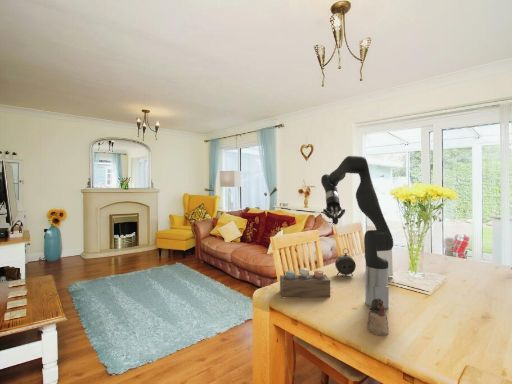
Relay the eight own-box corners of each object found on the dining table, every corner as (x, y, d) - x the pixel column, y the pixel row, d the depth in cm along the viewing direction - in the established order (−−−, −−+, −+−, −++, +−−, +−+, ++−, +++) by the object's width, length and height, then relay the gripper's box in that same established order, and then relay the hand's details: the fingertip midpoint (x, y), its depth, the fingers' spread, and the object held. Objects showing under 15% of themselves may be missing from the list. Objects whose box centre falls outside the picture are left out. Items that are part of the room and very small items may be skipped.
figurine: (382, 325, 103) (382, 294, 103) (392, 335, 96) (392, 302, 96) (364, 325, 103) (364, 294, 102) (372, 336, 96) (372, 302, 95)
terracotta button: (324, 278, 130) (324, 273, 130) (315, 278, 130) (315, 273, 130) (321, 275, 135) (321, 270, 135) (313, 275, 135) (313, 270, 135)
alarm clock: (353, 274, 160) (354, 247, 159) (356, 277, 155) (356, 249, 154) (334, 274, 161) (335, 247, 160) (336, 277, 156) (336, 249, 155)
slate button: (295, 278, 130) (295, 273, 130) (286, 278, 130) (286, 273, 130) (293, 275, 134) (293, 270, 134) (285, 275, 134) (285, 270, 134)
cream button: (310, 275, 130) (310, 270, 130) (301, 275, 130) (301, 270, 130) (307, 272, 134) (307, 267, 134) (299, 272, 134) (299, 267, 134)
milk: (388, 271, 166) (389, 229, 165) (392, 277, 155) (393, 232, 154) (367, 269, 169) (368, 228, 168) (370, 275, 158) (370, 231, 157)
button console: (330, 296, 129) (330, 279, 129) (282, 297, 128) (282, 280, 128) (325, 290, 137) (325, 273, 137) (280, 291, 136) (280, 274, 136)
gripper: (321, 195, 159) (324, 219, 147) (344, 195, 157) (349, 219, 146) (320, 204, 165) (322, 227, 153) (343, 204, 163) (347, 227, 151)
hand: (335, 223), depth 149 cm, fingers closed
